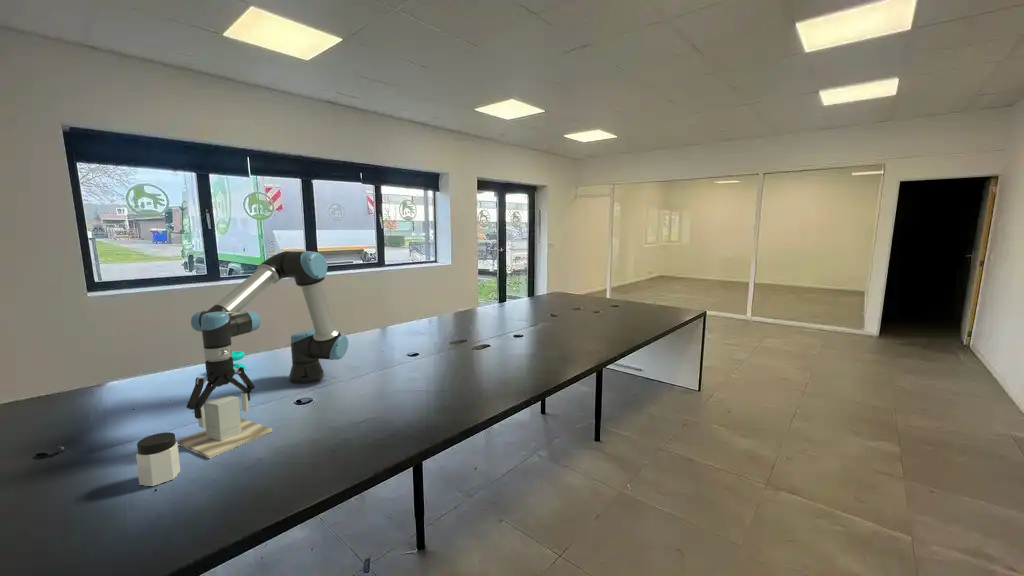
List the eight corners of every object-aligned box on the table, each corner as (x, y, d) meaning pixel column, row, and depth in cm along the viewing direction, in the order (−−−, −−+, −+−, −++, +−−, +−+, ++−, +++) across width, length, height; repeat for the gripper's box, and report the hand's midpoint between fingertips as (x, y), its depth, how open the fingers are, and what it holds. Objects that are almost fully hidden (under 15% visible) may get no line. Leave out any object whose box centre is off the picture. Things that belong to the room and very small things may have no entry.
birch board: (176, 444, 135) (175, 440, 135) (239, 420, 153) (239, 417, 152) (209, 459, 126) (209, 455, 126) (272, 432, 144) (272, 428, 143)
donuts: (233, 356, 200) (215, 355, 202) (235, 375, 202) (217, 374, 203) (249, 350, 210) (232, 349, 211) (250, 369, 211) (233, 368, 213)
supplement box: (242, 431, 141) (239, 397, 140) (220, 441, 134) (217, 405, 133) (227, 428, 144) (224, 394, 142) (205, 437, 137) (202, 401, 135)
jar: (177, 466, 122) (173, 428, 120) (183, 477, 117) (179, 437, 115) (137, 480, 115) (132, 440, 113) (142, 491, 110) (137, 450, 108)
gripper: (181, 371, 123) (188, 437, 126) (263, 350, 145) (267, 406, 148) (168, 367, 126) (176, 431, 129) (250, 347, 148) (255, 402, 151)
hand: (225, 418), depth 139 cm, fingers open, 13 cm apart
